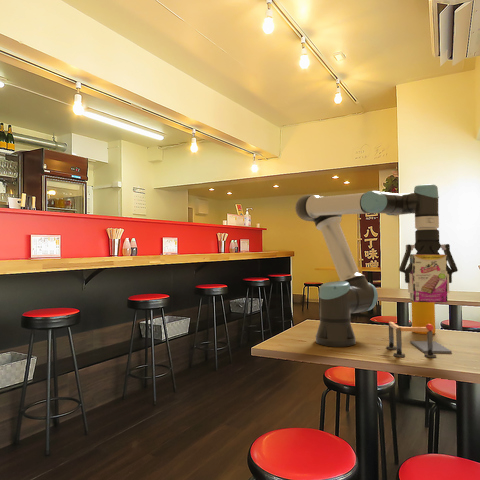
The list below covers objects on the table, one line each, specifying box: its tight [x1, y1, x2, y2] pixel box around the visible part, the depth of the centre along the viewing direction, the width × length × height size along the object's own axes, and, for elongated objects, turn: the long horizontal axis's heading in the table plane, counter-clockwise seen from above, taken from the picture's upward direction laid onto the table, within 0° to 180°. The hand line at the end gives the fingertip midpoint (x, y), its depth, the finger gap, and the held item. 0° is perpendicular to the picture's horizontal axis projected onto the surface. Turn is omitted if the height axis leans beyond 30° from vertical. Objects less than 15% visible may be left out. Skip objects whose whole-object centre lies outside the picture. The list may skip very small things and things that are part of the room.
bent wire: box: [385, 321, 437, 359], centre depth 137 cm, size 14×14×11 cm
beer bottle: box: [411, 301, 437, 335], centre depth 170 cm, size 9×9×29 cm
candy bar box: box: [409, 253, 448, 303], centre depth 135 cm, size 11×5×16 cm, turn 83°
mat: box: [410, 340, 453, 354], centre depth 142 cm, size 9×15×1 cm, turn 173°
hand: (428, 292), depth 135 cm, fingers closed on candy bar box, 11 cm apart
